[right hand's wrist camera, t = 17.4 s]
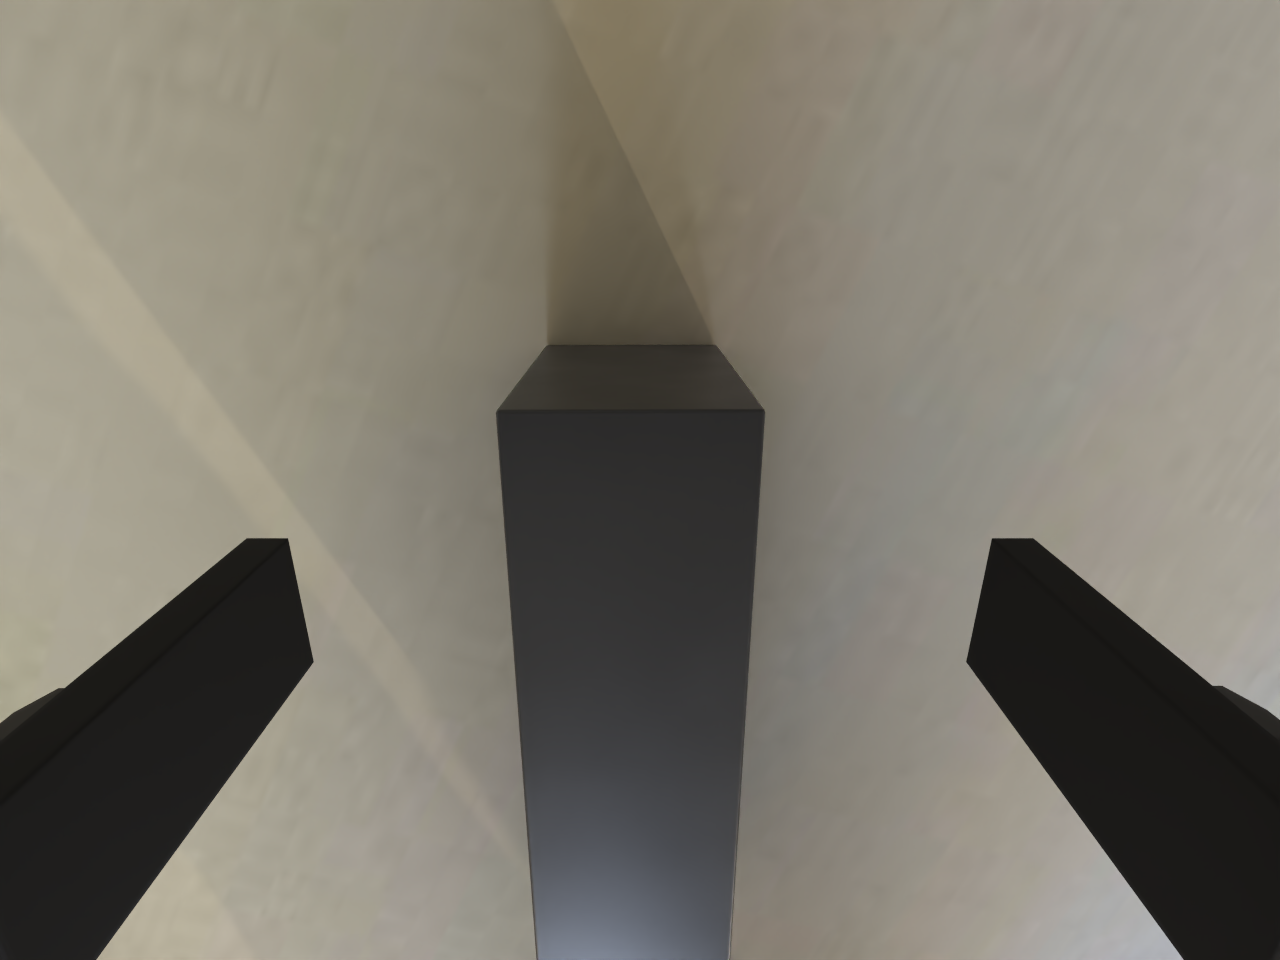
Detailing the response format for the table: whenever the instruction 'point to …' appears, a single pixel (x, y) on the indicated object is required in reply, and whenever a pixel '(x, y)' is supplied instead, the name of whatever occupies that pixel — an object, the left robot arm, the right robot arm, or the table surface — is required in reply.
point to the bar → (631, 640)
